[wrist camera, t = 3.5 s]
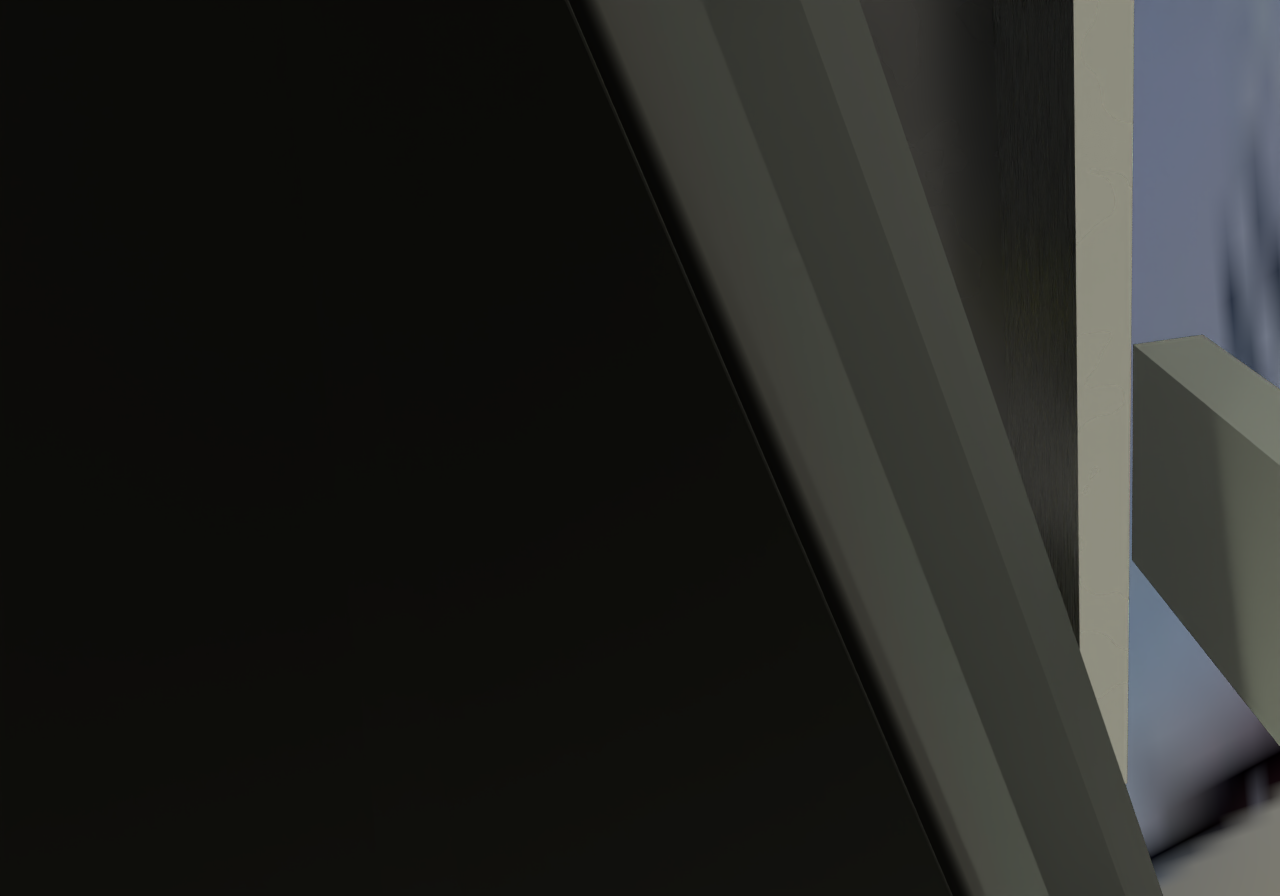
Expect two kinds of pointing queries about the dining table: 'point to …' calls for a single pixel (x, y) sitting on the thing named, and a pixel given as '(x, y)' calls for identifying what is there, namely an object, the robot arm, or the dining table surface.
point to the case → (1040, 263)
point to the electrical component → (509, 470)
